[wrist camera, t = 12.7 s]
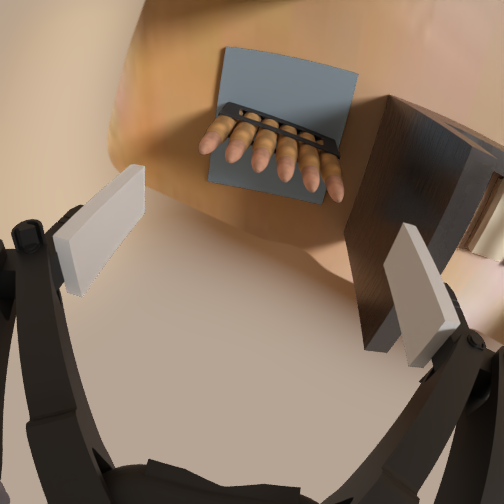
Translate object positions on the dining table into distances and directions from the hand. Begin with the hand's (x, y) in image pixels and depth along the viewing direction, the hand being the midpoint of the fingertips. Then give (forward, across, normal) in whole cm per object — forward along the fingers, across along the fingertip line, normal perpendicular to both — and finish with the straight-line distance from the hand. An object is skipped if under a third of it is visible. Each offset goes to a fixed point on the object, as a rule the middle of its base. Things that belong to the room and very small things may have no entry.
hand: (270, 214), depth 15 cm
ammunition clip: (+16, +1, 0) cm, 16 cm away
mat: (+17, +1, 0) cm, 17 cm away
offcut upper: (+17, -28, +2) cm, 33 cm away
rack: (+17, -22, +2) cm, 28 cm away
